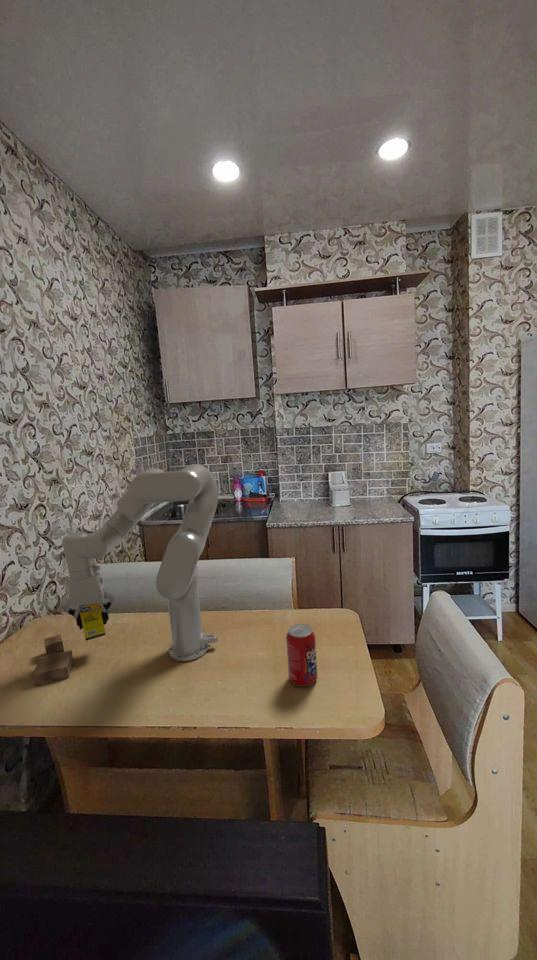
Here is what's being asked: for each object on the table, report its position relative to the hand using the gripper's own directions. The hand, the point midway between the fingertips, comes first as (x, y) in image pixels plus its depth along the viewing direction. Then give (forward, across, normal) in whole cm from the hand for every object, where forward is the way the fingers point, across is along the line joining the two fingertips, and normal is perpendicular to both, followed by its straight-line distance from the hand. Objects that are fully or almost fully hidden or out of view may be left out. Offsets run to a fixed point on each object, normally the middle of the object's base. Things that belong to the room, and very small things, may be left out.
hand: (93, 624), depth 133 cm
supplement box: (+3, 0, 0) cm, 3 cm away
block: (+10, +15, -4) cm, 18 cm away
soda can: (+14, -59, +31) cm, 68 cm away
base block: (+10, +12, +7) cm, 17 cm away
